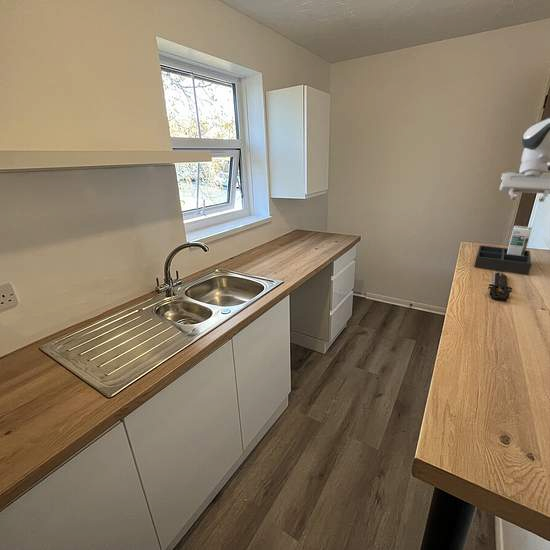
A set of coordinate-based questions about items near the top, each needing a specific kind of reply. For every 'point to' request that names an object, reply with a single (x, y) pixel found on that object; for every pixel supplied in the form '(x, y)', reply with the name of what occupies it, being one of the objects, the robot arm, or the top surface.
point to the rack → (502, 260)
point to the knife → (496, 285)
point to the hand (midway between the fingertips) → (527, 199)
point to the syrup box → (519, 240)
